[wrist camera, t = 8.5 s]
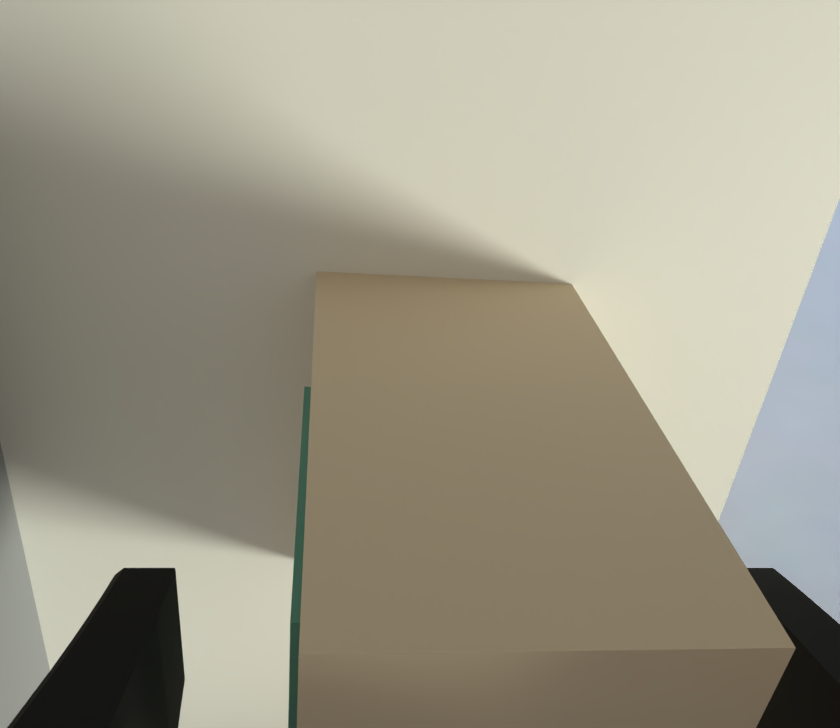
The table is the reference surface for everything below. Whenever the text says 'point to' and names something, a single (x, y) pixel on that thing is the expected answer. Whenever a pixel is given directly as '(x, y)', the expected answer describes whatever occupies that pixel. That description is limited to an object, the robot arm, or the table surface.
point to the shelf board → (359, 258)
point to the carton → (504, 527)
